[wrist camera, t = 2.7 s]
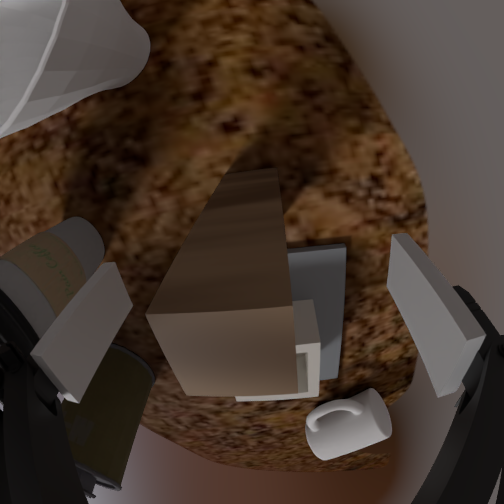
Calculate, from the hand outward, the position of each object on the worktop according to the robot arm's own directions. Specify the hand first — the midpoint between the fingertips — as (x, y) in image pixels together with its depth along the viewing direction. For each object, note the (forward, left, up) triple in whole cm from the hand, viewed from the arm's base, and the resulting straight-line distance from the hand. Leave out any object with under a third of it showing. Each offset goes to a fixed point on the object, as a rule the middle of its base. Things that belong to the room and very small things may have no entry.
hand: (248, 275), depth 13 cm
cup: (-14, -9, -11) cm, 20 cm away
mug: (+30, +8, -11) cm, 33 cm away
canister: (+21, -22, -11) cm, 32 cm away
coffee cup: (+2, -18, -11) cm, 21 cm away
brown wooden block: (0, 0, -11) cm, 11 cm away
